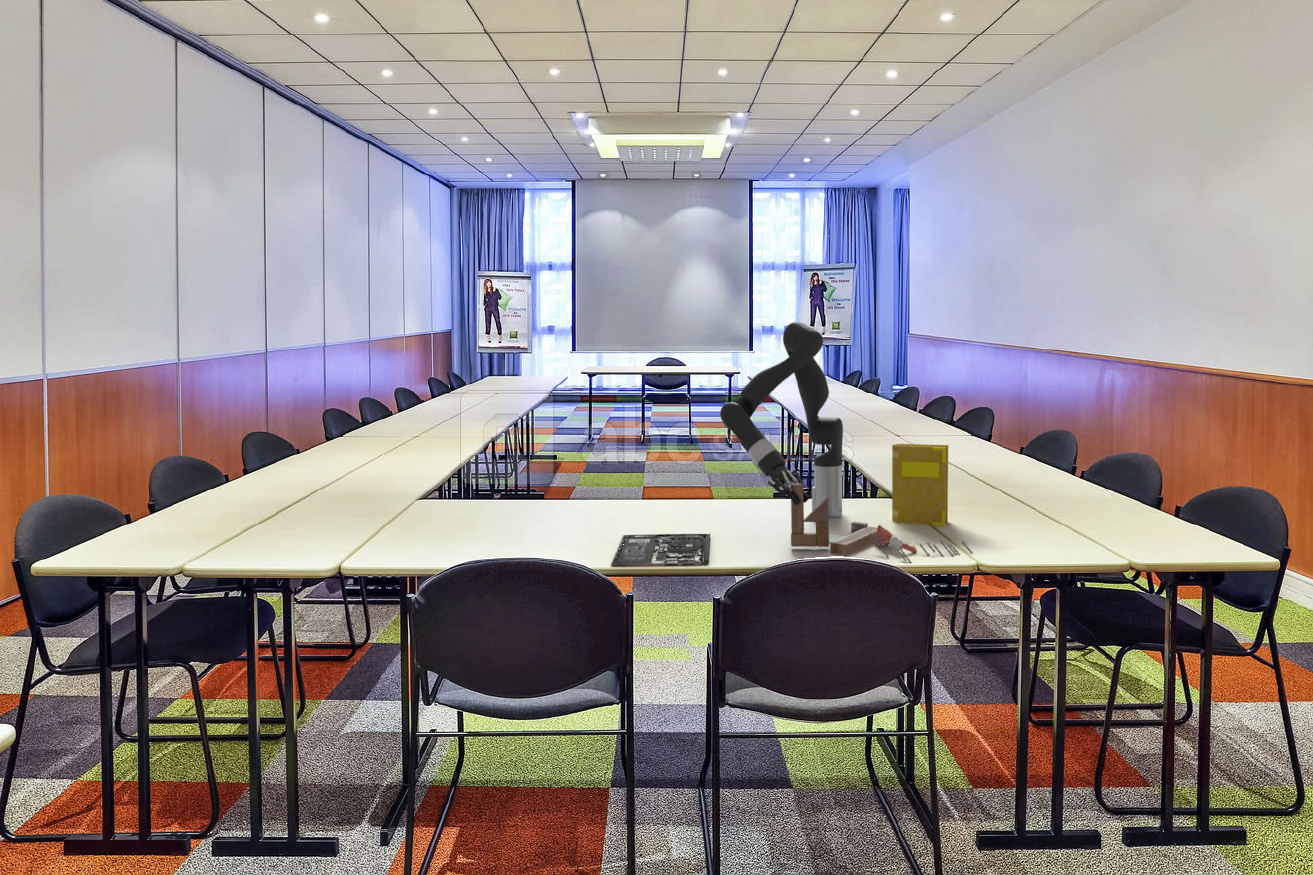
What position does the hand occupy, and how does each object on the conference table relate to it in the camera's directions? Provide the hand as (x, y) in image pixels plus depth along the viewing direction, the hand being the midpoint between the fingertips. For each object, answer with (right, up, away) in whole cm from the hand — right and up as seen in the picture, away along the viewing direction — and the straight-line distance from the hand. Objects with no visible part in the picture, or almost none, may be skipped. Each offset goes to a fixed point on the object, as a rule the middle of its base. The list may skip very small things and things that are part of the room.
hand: (802, 501), depth 270 cm
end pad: (+11, -12, +12) cm, 21 cm away
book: (+42, -9, +32) cm, 54 cm away
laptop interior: (-40, -16, +5) cm, 44 cm away
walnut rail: (+15, -13, +5) cm, 20 cm away
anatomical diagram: (+32, -15, -6) cm, 36 cm away
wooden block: (+2, -13, +1) cm, 13 cm away
